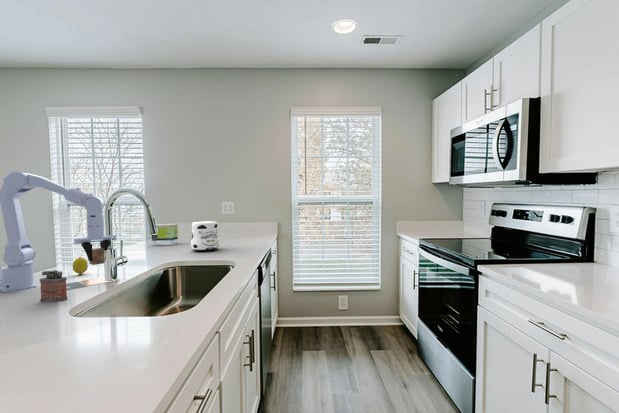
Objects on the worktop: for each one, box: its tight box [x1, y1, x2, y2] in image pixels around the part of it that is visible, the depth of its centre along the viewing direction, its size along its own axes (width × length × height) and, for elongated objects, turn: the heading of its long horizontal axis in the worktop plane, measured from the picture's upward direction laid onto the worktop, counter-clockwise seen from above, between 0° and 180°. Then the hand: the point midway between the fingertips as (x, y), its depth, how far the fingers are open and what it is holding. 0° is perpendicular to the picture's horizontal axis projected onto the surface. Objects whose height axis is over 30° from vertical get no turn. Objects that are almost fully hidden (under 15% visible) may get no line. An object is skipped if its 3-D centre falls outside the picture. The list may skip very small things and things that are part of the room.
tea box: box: [151, 223, 179, 246], centre depth 235 cm, size 15×10×15 cm, turn 84°
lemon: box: [72, 256, 89, 275], centre depth 143 cm, size 6×6×8 cm
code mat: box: [39, 281, 89, 291], centre depth 123 cm, size 12×12×1 cm
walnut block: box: [89, 247, 105, 266], centre depth 131 cm, size 4×4×6 cm
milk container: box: [190, 220, 220, 252], centre depth 206 cm, size 17×17×18 cm
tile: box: [79, 276, 116, 287], centre depth 131 cm, size 9×11×1 cm
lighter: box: [39, 269, 69, 303], centre depth 107 cm, size 8×3×10 cm, turn 92°
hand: (96, 259), depth 131 cm, fingers closed on walnut block, 4 cm apart
